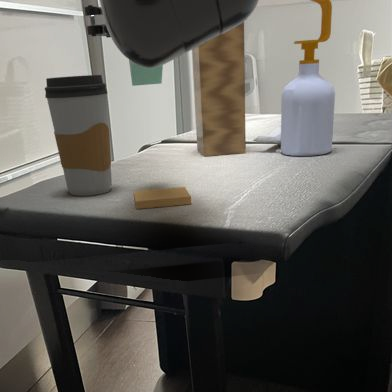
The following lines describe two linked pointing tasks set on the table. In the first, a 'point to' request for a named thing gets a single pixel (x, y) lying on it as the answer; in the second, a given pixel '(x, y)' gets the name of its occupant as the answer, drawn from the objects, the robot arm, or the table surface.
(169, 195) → the tan flat block
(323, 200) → the table surface
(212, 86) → the stand
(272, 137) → the toy fish
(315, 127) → the soap bottle
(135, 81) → the mint green chair
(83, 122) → the coffee cup
